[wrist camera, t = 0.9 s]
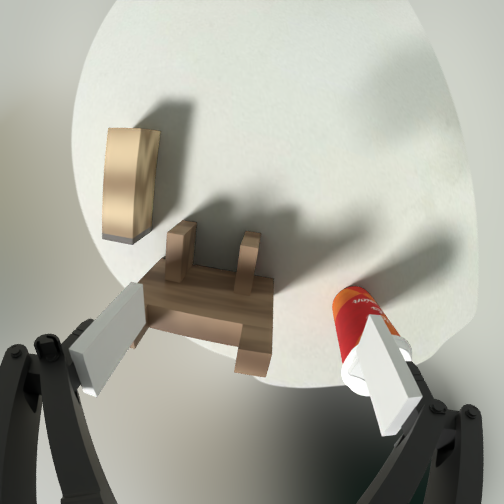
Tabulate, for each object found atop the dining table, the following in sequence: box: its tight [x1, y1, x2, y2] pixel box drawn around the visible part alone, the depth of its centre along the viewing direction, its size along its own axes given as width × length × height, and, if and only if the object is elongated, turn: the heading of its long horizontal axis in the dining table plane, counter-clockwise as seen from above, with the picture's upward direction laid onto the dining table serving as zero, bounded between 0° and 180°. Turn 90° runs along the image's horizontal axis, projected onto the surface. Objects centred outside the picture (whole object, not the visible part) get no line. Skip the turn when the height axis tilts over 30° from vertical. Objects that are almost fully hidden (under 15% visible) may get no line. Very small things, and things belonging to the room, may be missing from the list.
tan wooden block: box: [102, 128, 161, 245], centre depth 33 cm, size 14×4×6 cm, turn 171°
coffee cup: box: [332, 286, 412, 396], centre depth 33 cm, size 8×8×15 cm
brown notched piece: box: [130, 220, 274, 377], centre depth 31 cm, size 9×16×16 cm, turn 81°
